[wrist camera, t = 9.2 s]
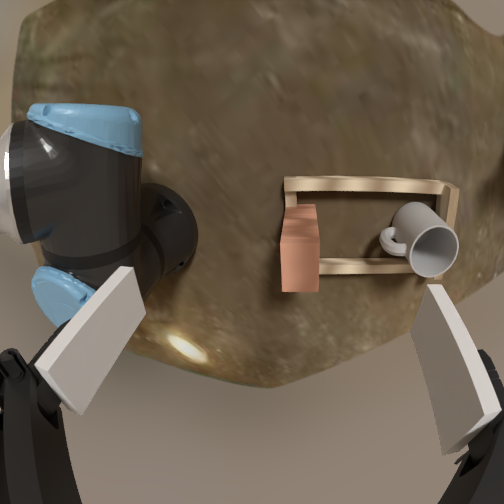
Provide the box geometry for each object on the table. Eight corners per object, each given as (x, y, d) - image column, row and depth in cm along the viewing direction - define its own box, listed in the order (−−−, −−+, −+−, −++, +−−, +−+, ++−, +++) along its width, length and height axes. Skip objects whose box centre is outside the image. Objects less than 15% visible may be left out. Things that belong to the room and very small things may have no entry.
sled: (288, 267, 44) (283, 319, 34) (284, 176, 38) (278, 205, 27) (432, 265, 40) (461, 312, 29) (446, 181, 33) (490, 210, 23)
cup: (432, 242, 38) (455, 273, 30) (373, 250, 41) (387, 284, 33) (433, 198, 35) (461, 221, 27) (371, 205, 37) (388, 231, 30)
